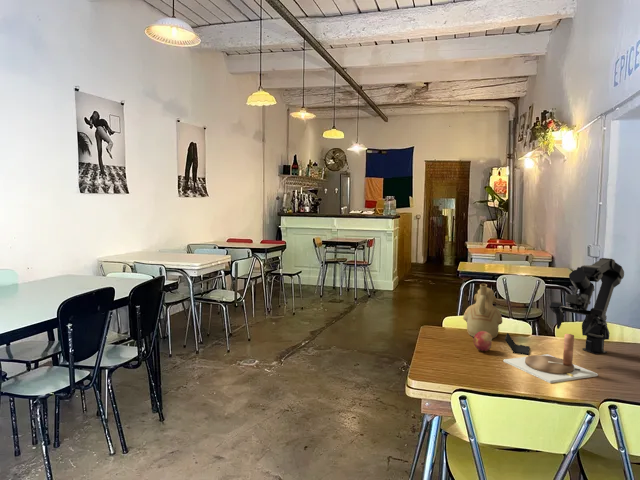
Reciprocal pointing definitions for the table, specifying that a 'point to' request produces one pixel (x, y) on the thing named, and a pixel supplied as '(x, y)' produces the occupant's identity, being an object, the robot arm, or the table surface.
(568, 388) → the table surface
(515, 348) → the handheld gaming console
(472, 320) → the ceramic vessel
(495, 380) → the table surface
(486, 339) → the fruit
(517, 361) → the dial plate
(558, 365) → the dial
